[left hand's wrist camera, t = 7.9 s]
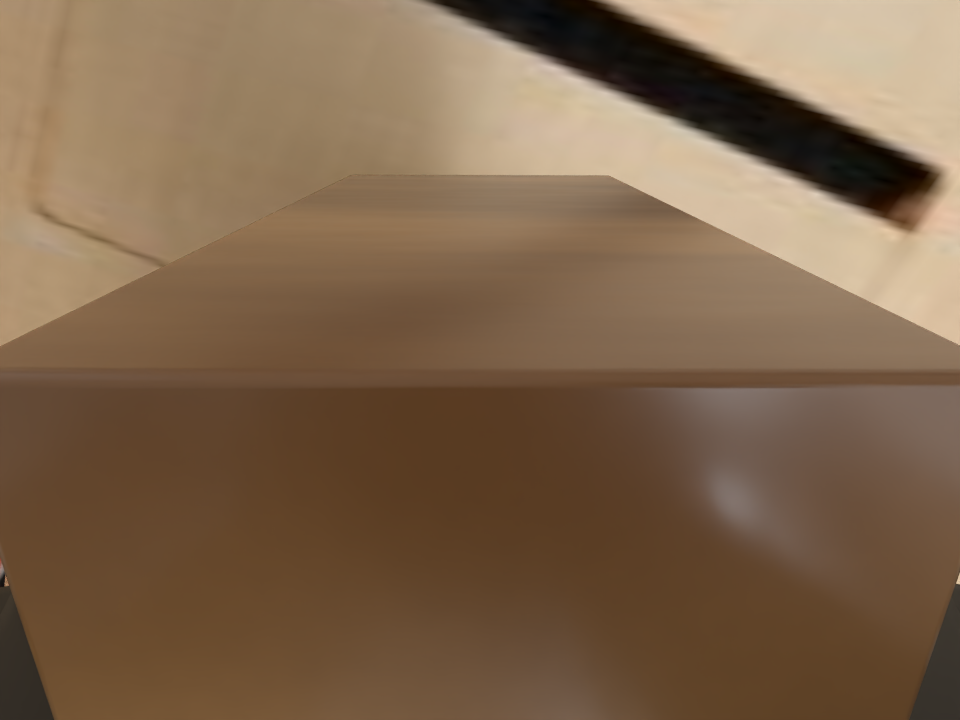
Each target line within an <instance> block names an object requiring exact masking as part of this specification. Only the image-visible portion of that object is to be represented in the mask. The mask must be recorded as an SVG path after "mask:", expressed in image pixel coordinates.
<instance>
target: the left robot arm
mask: <svg viewBox="0 0 960 720" xmlns="http://www.w3.org/2000/svg"><path fill="white" fill-rule="evenodd" d="M0 720H54V717H53V714H52V711H51V708H50V705H49V702H48V699H47V696H46V694H45V691H44V688H43V685H42V682H41V679H40V676H39V673H38V670H37V667H36V664H35V661H34V658H33V655H32V652H31V649H30V646H29V643H28V640H27V637H26V634H25V631H24V628H23V625H22V622H21V619H20V616H19V613H18V610H17V607H16V604H15V601H14V598H13V595H12V592H11V589H10V586H5V587H0ZM909 720H960V584H956V585H955V588H954V590H953V593H952V596H951V599H950V602H949V605H948V608H947V611H946V614H945V617H944V620H943V622H942V625H941V628H940V631H939V634H938V637H937V640H936V643H935V646H934V649H933V651H932V654H931V657H930V660H929V663H928V666H927V669H926V672H925V675H924V678H923V681H922V683H921V686H920V689H919V692H918V695H917V698H916V701H915V704H914V707H913V710H912V713H911V715H910V718H909Z"/></svg>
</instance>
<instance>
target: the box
mask: <svg viewBox="0 0 960 720" xmlns="http://www.w3.org/2000/svg"><path fill="white" fill-rule="evenodd" d="M0 559H1V562H2V565H3V568H4V571H5V574H6V577H7V580H8V583H9V586H10V589H11V592H12V595H13V598H14V601H15V604H16V607H17V610H18V613H19V616H20V619H21V622H22V625H23V628H24V631H25V634H26V637H27V640H28V643H29V646H30V649H31V652H32V655H33V658H34V661H35V664H36V667H37V670H38V673H39V676H40V679H41V682H42V685H43V688H44V691H45V694H46V696H47V699H48V702H49V705H50V708H51V711H52V714H53V717H54V720H909V718H910V715H911V713H912V710H913V707H914V704H915V701H916V698H917V695H918V692H919V689H920V686H921V683H922V681H923V678H924V675H925V672H926V669H927V666H928V663H929V660H930V657H931V654H932V651H933V649H934V646H935V643H936V640H937V637H938V634H939V631H940V628H941V625H942V622H943V620H944V617H945V614H946V611H947V608H948V605H949V602H950V599H951V596H952V593H953V590H954V588H955V585H956V582H957V579H958V576H959V573H960V345H958V344H956V343H954V342H952V341H949V340H947V339H945V338H943V337H941V336H939V335H937V334H935V333H933V332H931V331H929V330H927V329H925V328H923V327H921V326H918V325H916V324H914V323H912V322H910V321H908V320H906V319H904V318H902V317H900V316H898V315H896V314H894V313H892V312H890V311H887V310H885V309H883V308H881V307H879V306H877V305H875V304H873V303H871V302H869V301H867V300H865V299H863V298H861V297H859V296H857V295H854V294H852V293H850V292H848V291H846V290H844V289H842V288H840V287H838V286H836V285H834V284H832V283H830V282H828V281H826V280H823V279H821V278H819V277H817V276H815V275H813V274H811V273H809V272H807V271H805V270H803V269H801V268H799V267H797V266H795V265H792V264H790V263H788V262H786V261H784V260H782V259H780V258H778V257H776V256H774V255H772V254H770V253H768V252H766V251H764V250H761V249H759V248H757V247H755V246H753V245H751V244H749V243H747V242H745V241H743V240H741V239H739V238H737V237H735V236H733V235H730V234H728V233H726V232H724V231H722V230H720V229H718V228H716V227H714V226H712V225H710V224H708V223H706V222H704V221H702V220H700V219H697V218H695V217H693V216H691V215H689V214H687V213H685V212H683V211H681V210H679V209H677V208H675V207H673V206H671V205H669V204H666V203H664V202H662V201H660V200H658V199H656V198H654V197H652V196H650V195H648V194H646V193H644V192H642V191H640V190H638V189H635V188H633V187H631V186H629V185H627V184H625V183H623V182H621V181H619V180H617V179H615V178H613V177H611V176H554V175H350V176H348V177H346V178H344V179H342V180H340V181H338V182H336V183H334V184H332V185H330V186H328V187H326V188H324V189H322V190H320V191H318V192H316V193H313V194H311V195H309V196H307V197H305V198H303V199H301V200H299V201H297V202H295V203H293V204H291V205H289V206H287V207H285V208H283V209H281V210H279V211H277V212H275V213H272V214H270V215H268V216H266V217H264V218H262V219H260V220H258V221H256V222H254V223H252V224H250V225H248V226H246V227H244V228H242V229H240V230H238V231H236V232H234V233H232V234H229V235H227V236H225V237H223V238H221V239H219V240H217V241H215V242H213V243H211V244H209V245H207V246H205V247H203V248H201V249H199V250H197V251H195V252H193V253H191V254H189V255H186V256H184V257H182V258H180V259H178V260H176V261H174V262H172V263H170V264H168V265H166V266H164V267H162V268H160V269H158V270H156V271H154V272H152V273H150V274H148V275H146V276H143V277H141V278H139V279H137V280H135V281H133V282H131V283H129V284H127V285H125V286H123V287H121V288H119V289H117V290H115V291H113V292H111V293H109V294H107V295H105V296H103V297H100V298H98V299H96V300H94V301H92V302H90V303H88V304H86V305H84V306H82V307H80V308H78V309H76V310H74V311H72V312H70V313H68V314H66V315H64V316H62V317H59V318H57V319H55V320H53V321H51V322H49V323H47V324H45V325H43V326H41V327H39V328H37V329H35V330H33V331H31V332H29V333H27V334H25V335H23V336H21V337H19V338H16V339H14V340H12V341H10V342H8V343H6V344H4V345H2V346H0Z"/></svg>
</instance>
